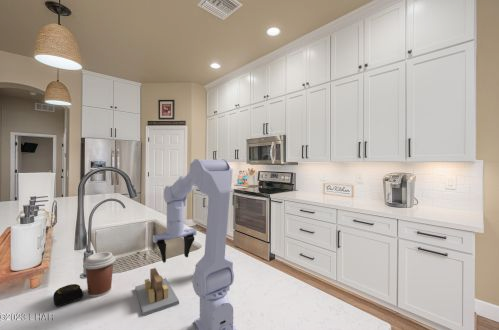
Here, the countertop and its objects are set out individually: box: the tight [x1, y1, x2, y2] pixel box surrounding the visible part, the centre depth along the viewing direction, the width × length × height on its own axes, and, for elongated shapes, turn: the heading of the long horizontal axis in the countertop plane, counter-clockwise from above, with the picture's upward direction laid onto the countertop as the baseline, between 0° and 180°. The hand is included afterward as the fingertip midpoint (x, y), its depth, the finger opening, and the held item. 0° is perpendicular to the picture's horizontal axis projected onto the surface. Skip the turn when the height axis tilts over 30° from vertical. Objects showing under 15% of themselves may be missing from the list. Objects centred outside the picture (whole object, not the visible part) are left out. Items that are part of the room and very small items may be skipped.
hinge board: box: [135, 275, 180, 317], centre depth 74 cm, size 16×10×4 cm, turn 34°
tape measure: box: [53, 283, 84, 307], centre depth 71 cm, size 7×7×4 cm
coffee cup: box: [82, 251, 117, 298], centre depth 76 cm, size 9×9×12 cm
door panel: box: [149, 267, 162, 302], centre depth 74 cm, size 10×2×6 cm, turn 34°
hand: (175, 258), depth 80 cm, fingers open, 7 cm apart
